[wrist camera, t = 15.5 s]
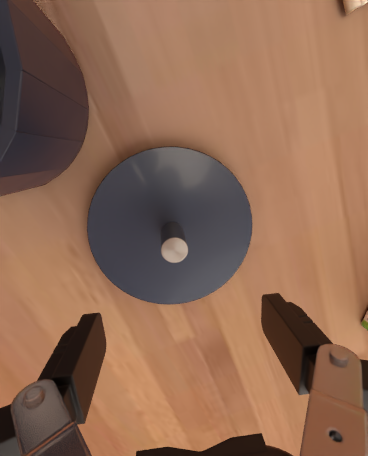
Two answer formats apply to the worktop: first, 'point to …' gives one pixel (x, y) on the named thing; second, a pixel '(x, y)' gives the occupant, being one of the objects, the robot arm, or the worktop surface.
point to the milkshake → (2, 86)
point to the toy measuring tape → (353, 5)
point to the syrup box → (365, 321)
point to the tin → (37, 99)
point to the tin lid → (169, 225)
